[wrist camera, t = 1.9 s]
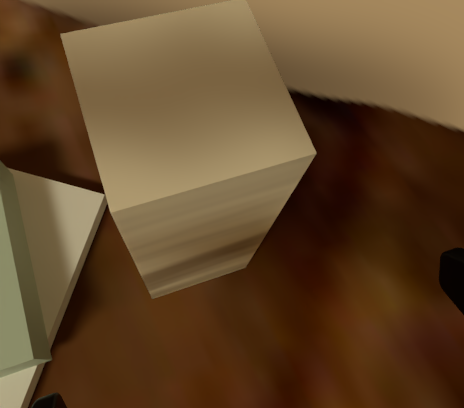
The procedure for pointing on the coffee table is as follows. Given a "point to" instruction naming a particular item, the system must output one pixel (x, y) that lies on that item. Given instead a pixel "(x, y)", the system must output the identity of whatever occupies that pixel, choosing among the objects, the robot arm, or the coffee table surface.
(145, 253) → the birch cabinet block
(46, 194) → the board
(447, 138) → the coffee table surface
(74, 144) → the coffee table surface
